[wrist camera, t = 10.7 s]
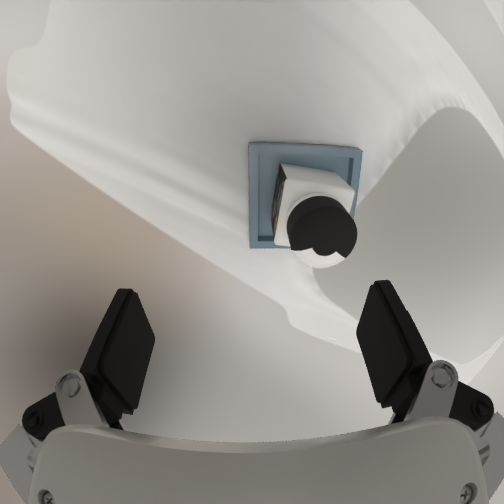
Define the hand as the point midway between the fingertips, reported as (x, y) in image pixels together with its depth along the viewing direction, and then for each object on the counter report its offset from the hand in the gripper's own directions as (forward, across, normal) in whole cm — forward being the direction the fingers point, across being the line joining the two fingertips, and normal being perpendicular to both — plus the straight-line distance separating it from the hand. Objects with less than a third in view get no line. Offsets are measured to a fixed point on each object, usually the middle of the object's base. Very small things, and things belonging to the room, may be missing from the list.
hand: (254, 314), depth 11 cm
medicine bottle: (+24, -6, +4) cm, 25 cm away
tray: (+24, -6, +5) cm, 25 cm away
